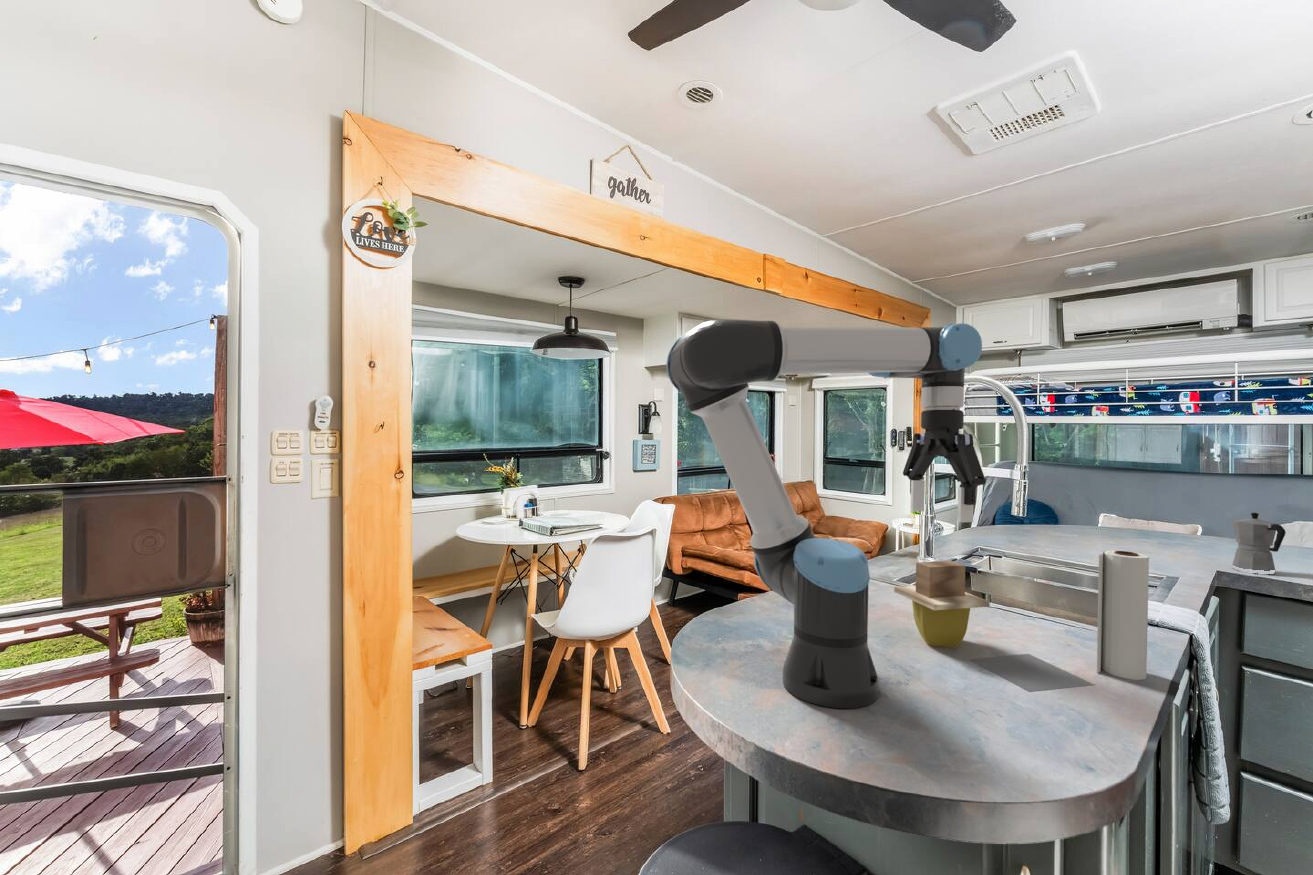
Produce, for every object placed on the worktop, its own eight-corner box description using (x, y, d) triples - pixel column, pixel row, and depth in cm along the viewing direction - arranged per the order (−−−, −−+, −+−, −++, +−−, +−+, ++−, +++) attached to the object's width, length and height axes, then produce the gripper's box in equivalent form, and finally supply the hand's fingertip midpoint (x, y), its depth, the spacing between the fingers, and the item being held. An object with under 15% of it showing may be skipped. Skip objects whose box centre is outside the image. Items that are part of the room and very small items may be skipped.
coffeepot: (1217, 565, 178) (1218, 509, 178) (1249, 566, 177) (1250, 509, 177) (1265, 578, 163) (1267, 516, 162) (1300, 579, 162) (1302, 517, 162)
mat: (1028, 694, 90) (1029, 691, 90) (968, 661, 103) (968, 658, 103) (1094, 687, 93) (1094, 684, 93) (1028, 655, 106) (1028, 653, 106)
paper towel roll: (1142, 671, 99) (1144, 551, 99) (1150, 685, 94) (1153, 558, 93) (1091, 662, 103) (1093, 546, 102) (1096, 675, 97) (1099, 553, 97)
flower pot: (970, 654, 106) (971, 607, 106) (921, 650, 108) (921, 604, 108) (955, 637, 115) (956, 593, 115) (910, 633, 117) (910, 591, 116)
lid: (934, 610, 104) (934, 572, 104) (894, 591, 116) (894, 558, 116) (989, 606, 107) (990, 570, 107) (944, 588, 118) (945, 555, 118)
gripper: (1010, 407, 99) (1007, 526, 100) (917, 411, 124) (915, 507, 124) (973, 406, 98) (970, 527, 98) (887, 410, 122) (885, 507, 122)
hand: (939, 516), depth 111 cm, fingers open, 13 cm apart
